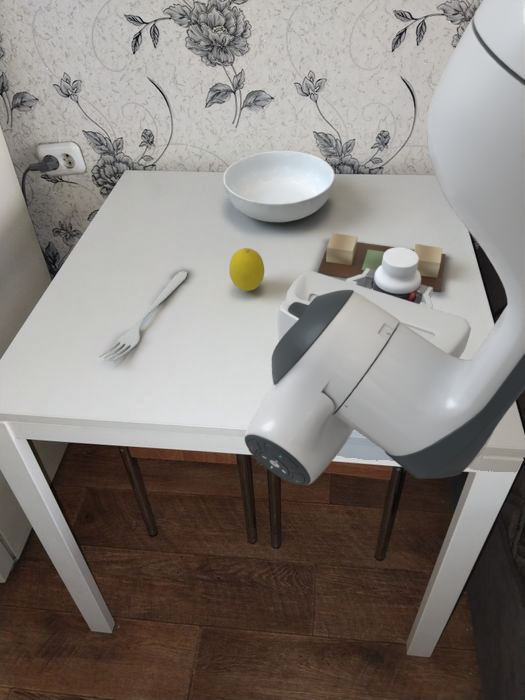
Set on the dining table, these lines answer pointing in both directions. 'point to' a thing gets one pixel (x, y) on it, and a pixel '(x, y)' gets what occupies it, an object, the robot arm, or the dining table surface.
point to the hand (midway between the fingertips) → (398, 282)
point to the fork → (133, 335)
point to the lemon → (246, 269)
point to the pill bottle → (398, 274)
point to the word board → (377, 259)
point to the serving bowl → (279, 185)
